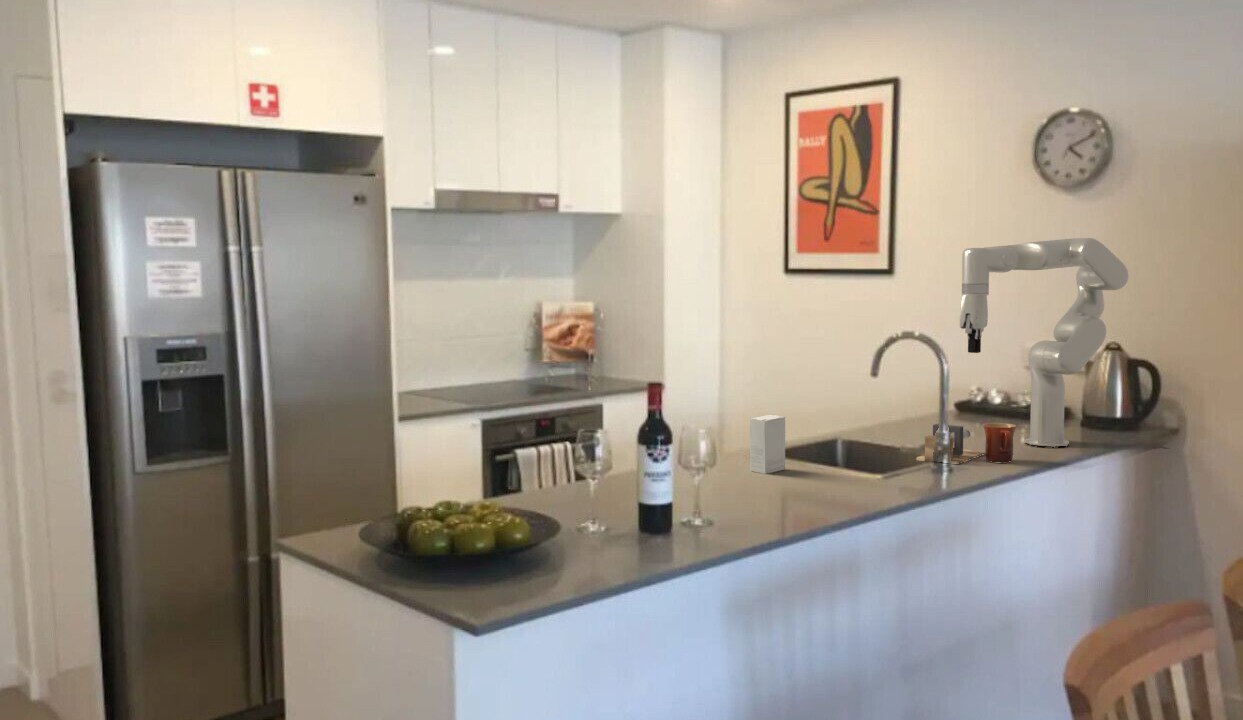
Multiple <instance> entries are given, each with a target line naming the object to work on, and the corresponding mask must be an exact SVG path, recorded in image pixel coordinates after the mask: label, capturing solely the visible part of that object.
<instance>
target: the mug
mask: <svg viewBox="0 0 1243 720" xmlns="http://www.w3.org/2000/svg"><path fill="white" fill-rule="evenodd" d="M982 427H983V429H984V435H985V444H984V452H985V455H984V456H985V460H986V461H987V460H988V461H987V462H989V461H992V462H1009V461H1011V462H1012V461H1013V458H1014V434H1015V432H1016V429H1017V425H1016V424H1013V423H1005V422H1004V423H1003V422H988V423H987V422H986V423H984V424H983V425H982ZM992 462H991V463H992ZM1009 463H1010V462H1009Z"/></svg>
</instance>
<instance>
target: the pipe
mask: <svg viewBox="0 0 1243 720" xmlns="http://www.w3.org/2000/svg"><path fill="white" fill-rule="evenodd" d="M949 435H950V437H952V438H953V443H954V433H953V432H952V433H950V434H949ZM970 437H971V432H970V430H968V429H963V440H965V439H968V438H970Z"/></svg>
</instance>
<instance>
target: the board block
mask: <svg viewBox="0 0 1243 720" xmlns="http://www.w3.org/2000/svg"><path fill="white" fill-rule="evenodd" d="M934 446H935V436H933V434H932V435H926V436H925V437H924V454H923V455H920V456H917V457H916V459H915V460H916V461H919V462H928V463H933V462H932V459H933V452H934ZM953 448H954V442H953V438H952V437H950V458H951V462H953V463H956V464H958V463H961V462H964V461H966V460H969V459H972V458H974V457H977V456H980V455H982V454H985V451H981V450H980V451H979V450H971V449H964V448H963V455H960V456H958V455H953ZM972 460H973V459H972ZM964 463H965V462H964Z"/></svg>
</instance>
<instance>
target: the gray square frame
mask: <svg viewBox="0 0 1243 720" xmlns="http://www.w3.org/2000/svg"><path fill="white" fill-rule="evenodd" d="M947 425H948V427H949V432H948V433H952V434H953V433H954V442H953V455H958V456H960V455H963V449H964V439H963V430H964V425H963V426H962V425H951V424H950V425H949V424H947ZM938 428H939V423H936V424H932V436H935V433H936V431H937V430H938Z"/></svg>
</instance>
